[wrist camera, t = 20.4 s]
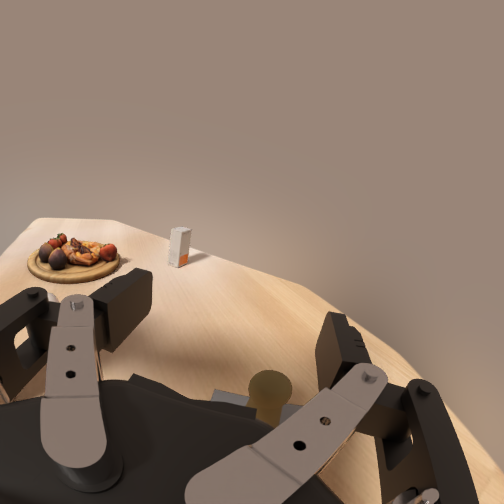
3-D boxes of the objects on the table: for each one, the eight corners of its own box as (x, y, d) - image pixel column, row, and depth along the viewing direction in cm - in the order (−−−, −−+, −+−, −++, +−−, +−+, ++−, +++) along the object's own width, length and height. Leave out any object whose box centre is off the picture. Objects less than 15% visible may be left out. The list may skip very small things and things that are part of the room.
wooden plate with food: (133, 255, 90) (134, 232, 87) (91, 295, 59) (89, 265, 57) (62, 241, 87) (61, 220, 84) (9, 271, 56) (6, 245, 54)
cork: (252, 409, 37) (267, 356, 33) (285, 429, 33) (307, 379, 30) (225, 430, 32) (236, 378, 29) (260, 454, 29) (280, 405, 25)
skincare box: (178, 268, 85) (181, 231, 82) (167, 264, 87) (170, 228, 83) (188, 263, 91) (192, 228, 88) (177, 260, 92) (181, 226, 89)
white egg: (57, 307, 50) (54, 285, 48) (64, 320, 47) (61, 297, 45) (29, 315, 43) (24, 292, 42) (34, 328, 40) (29, 305, 39)
